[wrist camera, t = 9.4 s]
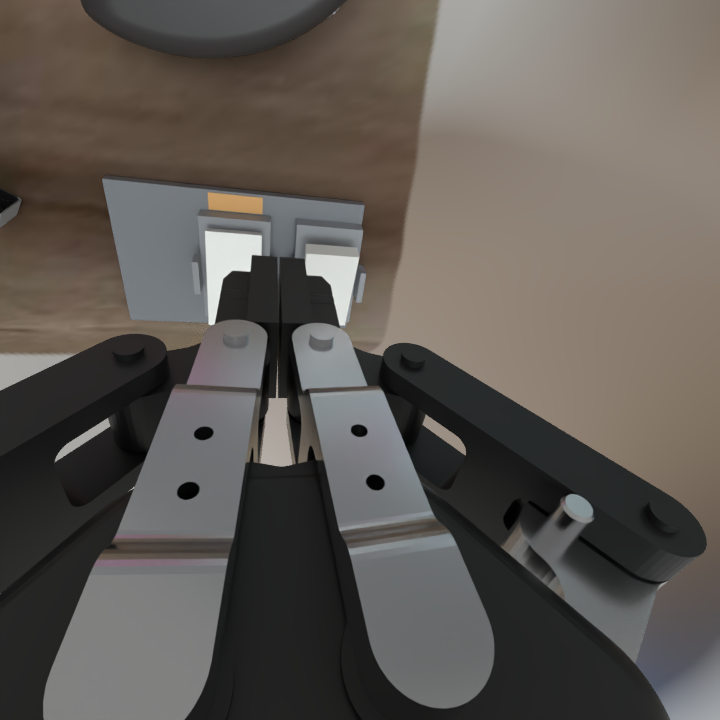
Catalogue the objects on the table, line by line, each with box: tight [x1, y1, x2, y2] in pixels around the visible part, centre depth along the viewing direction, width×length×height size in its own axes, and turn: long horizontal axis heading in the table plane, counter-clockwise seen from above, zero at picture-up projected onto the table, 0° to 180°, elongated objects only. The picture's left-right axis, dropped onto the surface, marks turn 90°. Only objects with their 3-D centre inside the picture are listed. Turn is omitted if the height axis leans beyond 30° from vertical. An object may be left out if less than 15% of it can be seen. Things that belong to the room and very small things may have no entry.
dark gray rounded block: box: [81, 0, 347, 58], centre depth 25 cm, size 16×5×9 cm, turn 102°
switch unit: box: [102, 175, 366, 328], centre depth 38 cm, size 21×13×4 cm, turn 82°
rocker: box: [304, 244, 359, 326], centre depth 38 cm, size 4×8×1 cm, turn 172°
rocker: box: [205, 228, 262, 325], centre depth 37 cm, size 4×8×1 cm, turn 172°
